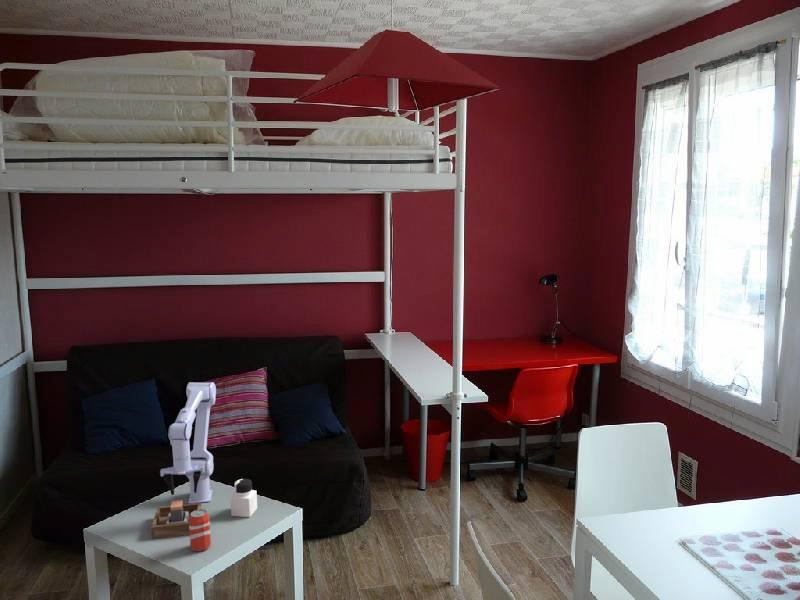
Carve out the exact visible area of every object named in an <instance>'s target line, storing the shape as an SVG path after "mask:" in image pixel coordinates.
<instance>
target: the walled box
mask: <svg viewBox="0 0 800 600" xmlns="http://www.w3.org/2000/svg"><path fill="white" fill-rule="evenodd" d="M199 509H203V507H202V502H200V503H190V504H189V503H187V504H183V513H184V521H180V522H171V505H165V506H158V507H157V508H156V511H155V514H154V517H153V521H152V523H151V526H150V527H151V528H150V530H151V539H153V540H154V538H155V539H162V538H163V539H164V538H173V537H180V536H188V535H189V536H190V531H189V518H190V516H191V515H190V514H191V512H193V511H195V510H199Z"/></svg>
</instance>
